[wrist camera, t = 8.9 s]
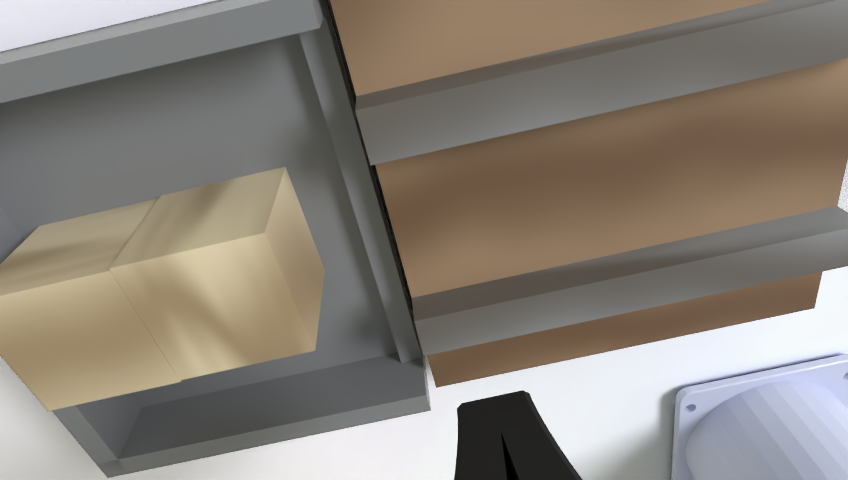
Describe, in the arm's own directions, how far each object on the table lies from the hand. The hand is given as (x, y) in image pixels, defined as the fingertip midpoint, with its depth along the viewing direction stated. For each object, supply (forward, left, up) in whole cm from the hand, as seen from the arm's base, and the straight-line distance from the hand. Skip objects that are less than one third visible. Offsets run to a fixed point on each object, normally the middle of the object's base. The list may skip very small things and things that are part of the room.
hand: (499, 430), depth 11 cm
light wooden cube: (+1, +5, -7) cm, 8 cm away
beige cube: (+1, +11, -9) cm, 14 cm away
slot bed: (+1, -5, -9) cm, 11 cm away
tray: (+1, +8, -9) cm, 12 cm away
